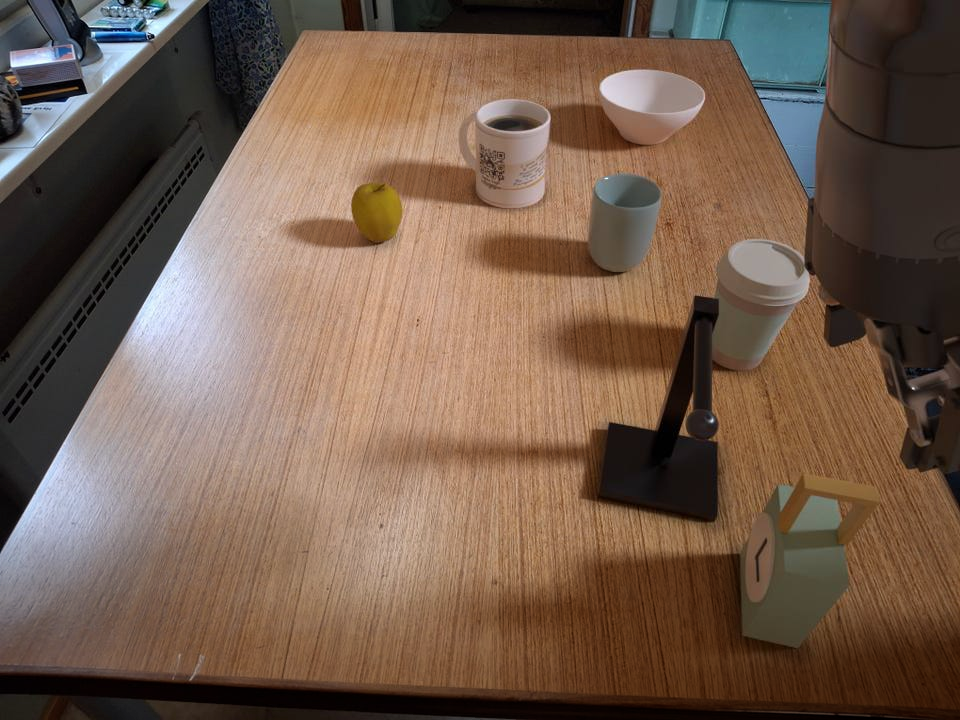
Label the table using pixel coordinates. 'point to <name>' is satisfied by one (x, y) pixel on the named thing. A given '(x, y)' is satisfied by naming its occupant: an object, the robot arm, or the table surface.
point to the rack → (672, 436)
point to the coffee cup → (755, 299)
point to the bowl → (649, 103)
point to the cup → (622, 220)
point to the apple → (376, 211)
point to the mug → (508, 151)
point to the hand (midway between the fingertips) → (880, 394)
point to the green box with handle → (799, 557)
